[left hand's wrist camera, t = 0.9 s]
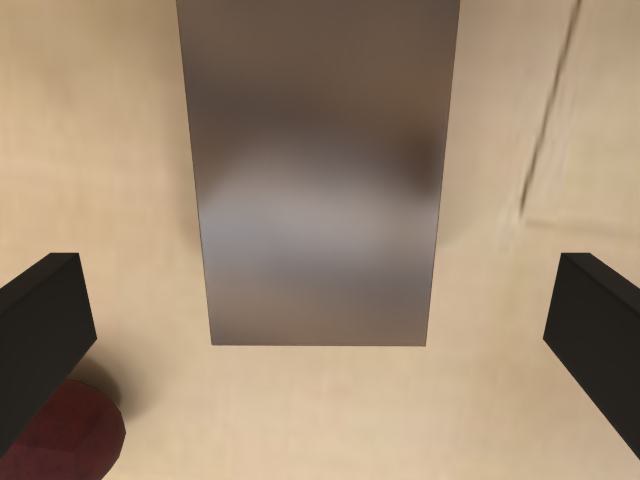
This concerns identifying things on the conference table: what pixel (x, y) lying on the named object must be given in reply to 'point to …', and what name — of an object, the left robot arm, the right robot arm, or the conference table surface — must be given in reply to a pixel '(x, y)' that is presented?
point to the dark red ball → (68, 438)
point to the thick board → (318, 164)
